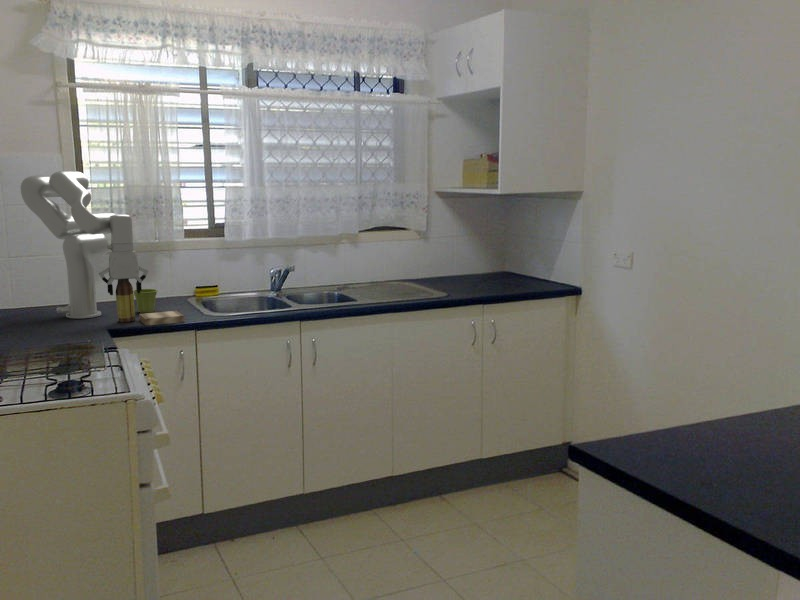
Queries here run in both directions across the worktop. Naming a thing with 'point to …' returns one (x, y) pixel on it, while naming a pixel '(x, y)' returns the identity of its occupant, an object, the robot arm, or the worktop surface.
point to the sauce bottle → (125, 301)
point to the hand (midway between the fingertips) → (125, 293)
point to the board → (161, 318)
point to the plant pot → (145, 300)
